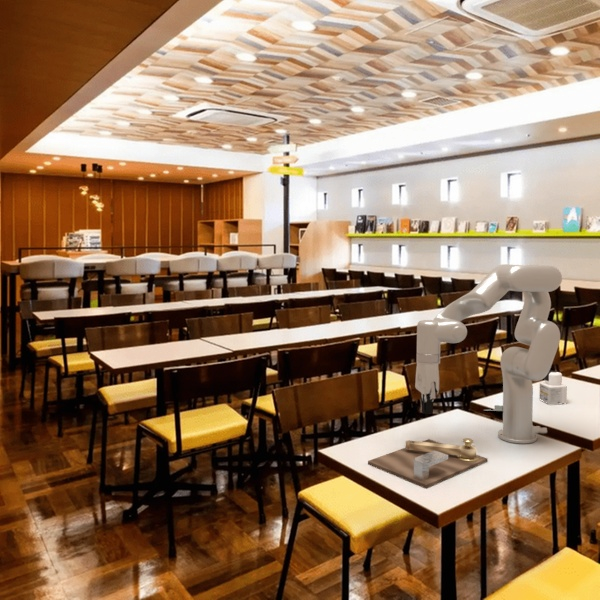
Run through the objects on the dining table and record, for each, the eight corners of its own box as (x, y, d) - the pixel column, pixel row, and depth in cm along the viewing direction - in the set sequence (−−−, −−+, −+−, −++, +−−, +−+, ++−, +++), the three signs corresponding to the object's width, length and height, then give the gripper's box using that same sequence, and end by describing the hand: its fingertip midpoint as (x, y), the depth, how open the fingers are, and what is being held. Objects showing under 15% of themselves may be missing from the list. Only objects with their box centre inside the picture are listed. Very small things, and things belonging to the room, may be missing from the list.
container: (539, 400, 236) (539, 370, 234) (556, 399, 237) (556, 369, 235) (549, 405, 228) (549, 374, 227) (566, 404, 229) (567, 373, 228)
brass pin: (475, 453, 176) (475, 436, 175) (481, 461, 170) (481, 443, 169) (455, 454, 176) (455, 436, 176) (460, 461, 170) (460, 443, 169)
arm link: (477, 453, 174) (477, 445, 174) (475, 459, 170) (475, 451, 169) (407, 445, 183) (407, 438, 182) (404, 450, 178) (403, 443, 178)
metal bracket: (533, 404, 211) (493, 405, 211) (534, 420, 210) (495, 421, 210) (519, 404, 225) (482, 405, 225) (520, 419, 224) (483, 420, 224)
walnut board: (428, 441, 190) (428, 439, 190) (487, 461, 172) (487, 458, 172) (368, 464, 173) (367, 460, 173) (426, 488, 154) (426, 485, 154)
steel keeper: (424, 481, 157) (424, 463, 156) (411, 475, 161) (411, 458, 160) (448, 471, 163) (448, 454, 162) (434, 466, 167) (434, 449, 166)
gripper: (409, 354, 188) (408, 407, 189) (425, 363, 173) (424, 420, 174) (431, 353, 189) (429, 406, 190) (448, 362, 174) (447, 419, 175)
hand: (427, 412), depth 182 cm, fingers closed
